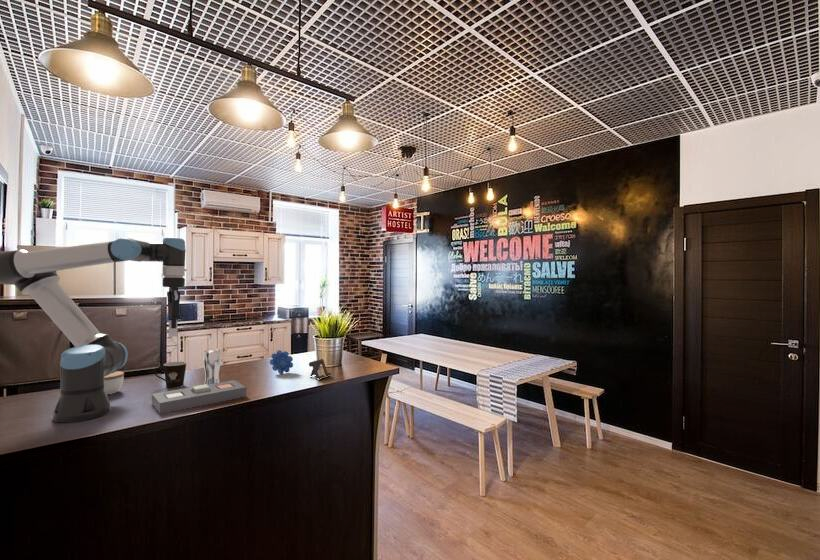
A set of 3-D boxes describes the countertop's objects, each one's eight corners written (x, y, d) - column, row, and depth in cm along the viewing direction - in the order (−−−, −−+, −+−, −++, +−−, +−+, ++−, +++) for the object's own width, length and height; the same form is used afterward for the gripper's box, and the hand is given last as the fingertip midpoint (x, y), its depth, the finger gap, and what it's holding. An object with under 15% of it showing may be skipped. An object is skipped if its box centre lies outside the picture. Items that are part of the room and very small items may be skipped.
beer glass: (222, 383, 173) (223, 351, 173) (206, 386, 168) (206, 353, 168) (217, 380, 178) (217, 348, 178) (200, 383, 173) (201, 350, 172)
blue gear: (271, 377, 186) (271, 352, 186) (268, 373, 192) (268, 350, 192) (295, 374, 192) (295, 350, 192) (291, 371, 198) (292, 348, 198)
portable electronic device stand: (319, 381, 180) (319, 363, 180) (306, 379, 184) (306, 361, 184) (331, 376, 188) (331, 360, 188) (318, 374, 192) (318, 358, 191)
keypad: (159, 414, 134) (159, 403, 134) (151, 404, 144) (151, 393, 144) (246, 396, 155) (246, 387, 155) (234, 389, 165) (234, 380, 165)
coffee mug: (190, 383, 172) (190, 361, 172) (177, 389, 163) (177, 366, 163) (166, 382, 173) (166, 360, 173) (152, 388, 165) (152, 365, 165)
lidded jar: (130, 390, 161) (130, 368, 161) (104, 398, 151) (104, 374, 151) (111, 388, 164) (111, 366, 164) (83, 395, 153) (84, 372, 153)
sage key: (195, 396, 146) (195, 389, 146) (191, 393, 150) (192, 386, 150) (209, 394, 150) (209, 387, 150) (205, 391, 153) (205, 384, 153)
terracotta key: (220, 395, 152) (220, 388, 152) (216, 392, 156) (216, 385, 156) (233, 393, 156) (233, 386, 156) (229, 390, 159) (229, 383, 159)
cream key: (168, 405, 140) (168, 398, 140) (165, 402, 143) (165, 394, 143) (183, 402, 143) (183, 395, 143) (180, 399, 147) (180, 392, 147)
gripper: (188, 277, 148) (187, 337, 148) (181, 277, 158) (180, 333, 158) (165, 277, 143) (164, 339, 144) (160, 276, 153) (159, 335, 153)
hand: (172, 336), depth 151 cm, fingers closed
